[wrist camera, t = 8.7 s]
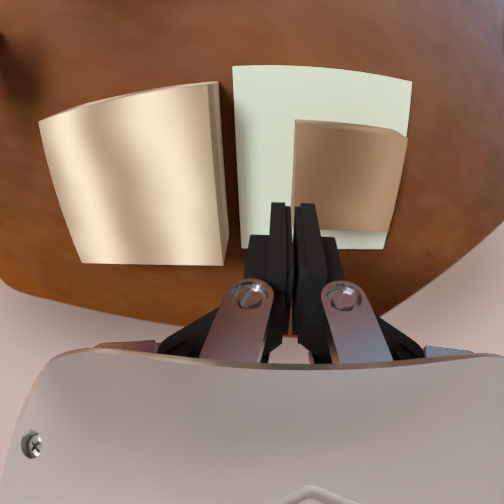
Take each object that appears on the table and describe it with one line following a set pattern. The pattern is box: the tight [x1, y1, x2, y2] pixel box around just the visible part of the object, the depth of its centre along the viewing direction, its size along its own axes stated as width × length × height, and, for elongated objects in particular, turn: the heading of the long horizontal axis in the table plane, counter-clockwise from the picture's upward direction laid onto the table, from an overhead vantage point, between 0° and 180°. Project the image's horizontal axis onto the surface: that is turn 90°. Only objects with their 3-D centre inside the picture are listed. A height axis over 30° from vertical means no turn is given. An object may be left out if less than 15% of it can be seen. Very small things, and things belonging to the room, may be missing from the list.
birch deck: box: [39, 81, 229, 265], centre depth 19 cm, size 12×12×4 cm
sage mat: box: [233, 65, 412, 249], centre depth 19 cm, size 12×14×1 cm
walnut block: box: [291, 119, 408, 232], centre depth 18 cm, size 7×7×2 cm
